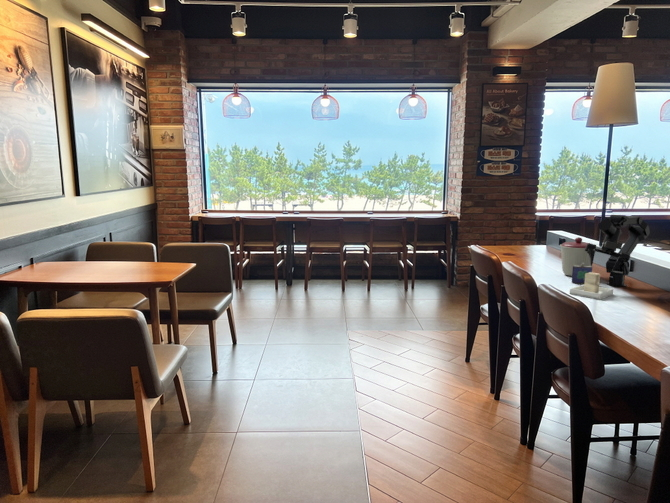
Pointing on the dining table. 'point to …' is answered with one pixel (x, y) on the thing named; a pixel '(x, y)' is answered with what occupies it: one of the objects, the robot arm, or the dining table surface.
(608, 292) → the tray
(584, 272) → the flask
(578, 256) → the canister
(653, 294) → the dining table surface
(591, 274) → the maple block
